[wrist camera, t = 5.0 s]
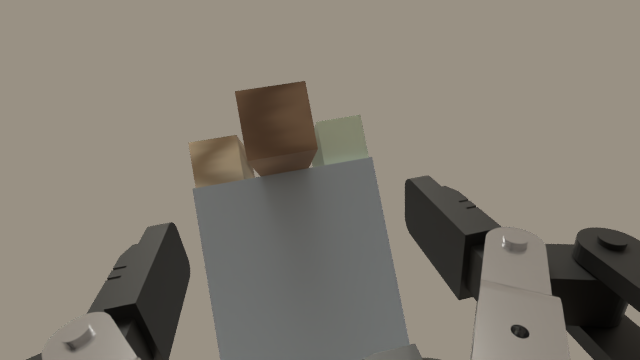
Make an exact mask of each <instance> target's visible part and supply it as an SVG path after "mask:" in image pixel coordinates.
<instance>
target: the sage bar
mask: <svg viewBox="0 0 640 360" xmlns="http://www.w3.org/2000/svg"><path fill="white" fill-rule="evenodd" d="M314 130H315V136H316V141H317V146H318V150H317V152H316V154H315V156H314V158H313V160H312V165H313V167H318V166H324V165H329V164H335V163H340V162H346V161H352V160H357V159H363V158H369V156H368V151H367V146H366V141H365V136H364V131H363V126H362V121H361V116H360V115H356V116H350V117H344V118H338V119H332V120H325V121H320V122H316V125H315V128H314Z"/></svg>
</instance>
